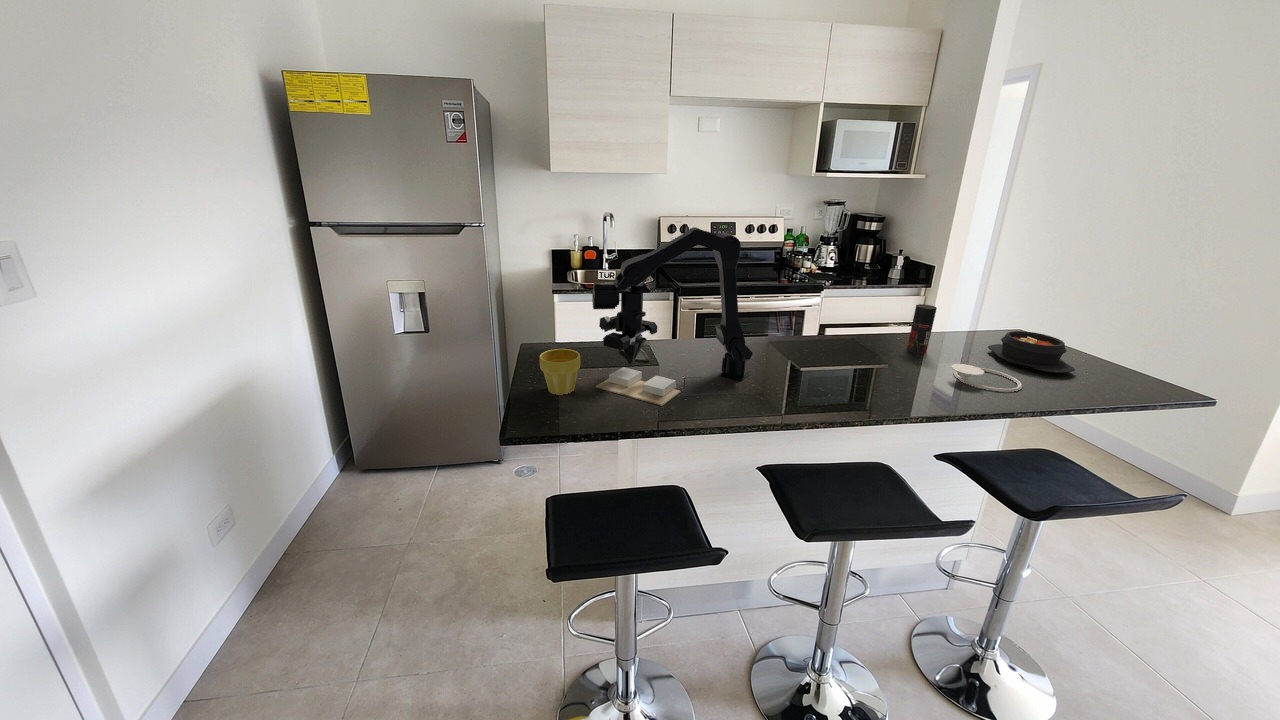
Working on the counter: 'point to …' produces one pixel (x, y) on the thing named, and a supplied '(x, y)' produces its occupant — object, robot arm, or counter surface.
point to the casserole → (1033, 351)
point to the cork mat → (638, 392)
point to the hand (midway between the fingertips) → (630, 363)
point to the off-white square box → (659, 385)
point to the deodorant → (921, 328)
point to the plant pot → (560, 369)
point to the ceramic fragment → (642, 356)
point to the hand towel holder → (975, 371)
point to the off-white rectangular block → (625, 377)
